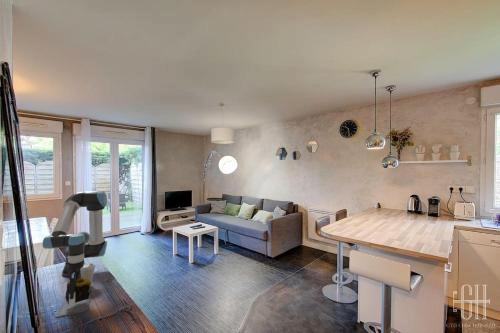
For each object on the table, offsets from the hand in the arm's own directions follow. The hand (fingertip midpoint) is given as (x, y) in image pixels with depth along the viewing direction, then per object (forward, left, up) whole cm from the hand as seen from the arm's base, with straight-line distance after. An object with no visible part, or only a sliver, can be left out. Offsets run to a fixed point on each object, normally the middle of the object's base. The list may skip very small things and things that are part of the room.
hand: (74, 298), depth 133 cm
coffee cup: (-24, +2, -6) cm, 25 cm away
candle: (0, +1, -1) cm, 1 cm away
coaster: (0, 0, -5) cm, 5 cm away
